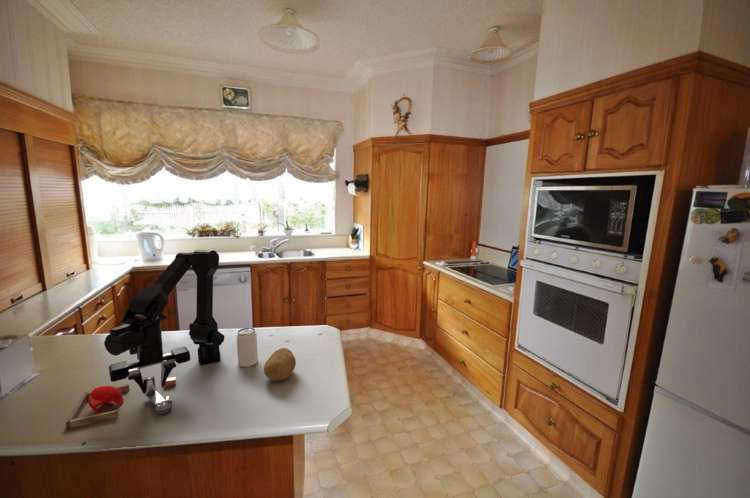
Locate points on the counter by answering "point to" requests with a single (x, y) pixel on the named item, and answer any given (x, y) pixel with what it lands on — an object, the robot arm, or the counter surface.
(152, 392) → the crank
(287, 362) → the potato
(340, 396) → the counter surface
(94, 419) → the bay
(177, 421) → the counter surface
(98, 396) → the cap
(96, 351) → the counter surface
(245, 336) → the can
